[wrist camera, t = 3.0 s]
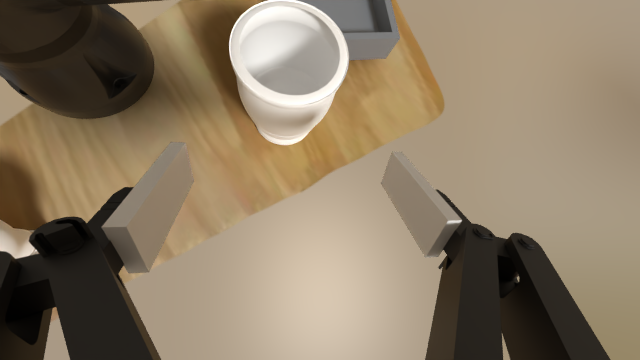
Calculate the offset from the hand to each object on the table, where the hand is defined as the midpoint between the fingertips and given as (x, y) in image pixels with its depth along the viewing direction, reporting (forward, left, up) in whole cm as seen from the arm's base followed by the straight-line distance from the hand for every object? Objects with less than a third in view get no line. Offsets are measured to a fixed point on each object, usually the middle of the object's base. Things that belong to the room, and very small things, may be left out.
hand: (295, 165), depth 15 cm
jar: (+2, +11, -19) cm, 22 cm away
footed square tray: (+12, +27, -18) cm, 35 cm away
